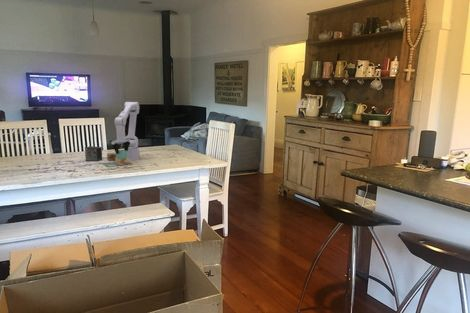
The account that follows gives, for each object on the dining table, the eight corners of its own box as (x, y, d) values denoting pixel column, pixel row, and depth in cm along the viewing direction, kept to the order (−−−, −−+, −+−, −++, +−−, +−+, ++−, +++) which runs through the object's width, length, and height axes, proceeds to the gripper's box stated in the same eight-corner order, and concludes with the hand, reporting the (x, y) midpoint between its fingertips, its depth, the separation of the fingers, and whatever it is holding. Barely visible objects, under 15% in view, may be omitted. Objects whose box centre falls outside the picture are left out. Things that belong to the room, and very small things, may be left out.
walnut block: (114, 160, 270) (114, 153, 269) (117, 161, 265) (116, 154, 264) (107, 160, 267) (107, 153, 266) (109, 162, 262) (109, 154, 261)
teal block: (122, 157, 257) (122, 149, 256) (127, 158, 254) (127, 150, 253) (116, 158, 253) (115, 150, 252) (121, 159, 250) (120, 151, 249)
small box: (102, 160, 268) (102, 146, 266) (97, 162, 261) (96, 148, 259) (90, 159, 270) (90, 145, 268) (85, 161, 264) (84, 147, 262)
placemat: (126, 161, 264) (126, 161, 264) (133, 165, 253) (133, 164, 253) (101, 164, 254) (101, 163, 254) (107, 168, 243) (107, 167, 243)
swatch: (114, 164, 251) (114, 164, 251) (116, 166, 247) (116, 165, 247) (107, 165, 248) (107, 165, 248) (109, 166, 244) (109, 166, 244)
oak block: (125, 162, 259) (125, 157, 258) (128, 164, 254) (128, 158, 253) (115, 163, 255) (115, 158, 254) (118, 165, 250) (118, 159, 249)
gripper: (125, 132, 258) (126, 151, 261) (108, 134, 247) (109, 153, 249) (131, 133, 254) (132, 152, 257) (114, 135, 243) (115, 155, 245)
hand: (121, 153), depth 253 cm, fingers open, 7 cm apart
